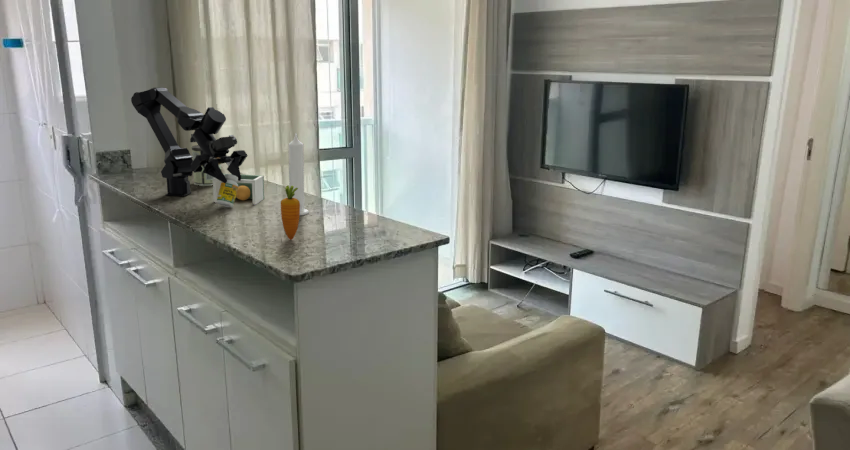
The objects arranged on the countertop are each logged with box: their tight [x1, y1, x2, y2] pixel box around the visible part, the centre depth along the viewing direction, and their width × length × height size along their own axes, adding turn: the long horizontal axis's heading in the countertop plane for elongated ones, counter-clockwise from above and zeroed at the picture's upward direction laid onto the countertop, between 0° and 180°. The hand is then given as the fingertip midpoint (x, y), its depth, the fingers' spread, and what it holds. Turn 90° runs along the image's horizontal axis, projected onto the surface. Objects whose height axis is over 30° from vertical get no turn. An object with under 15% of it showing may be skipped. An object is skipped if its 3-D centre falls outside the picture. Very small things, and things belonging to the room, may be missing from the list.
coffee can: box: [191, 144, 222, 187], centre depth 234 cm, size 10×10×14 cm
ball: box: [236, 185, 251, 201], centre depth 210 cm, size 5×5×5 cm
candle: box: [288, 132, 309, 216], centre depth 192 cm, size 7×7×25 cm
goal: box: [212, 173, 265, 205], centre depth 209 cm, size 14×9×8 cm, turn 87°
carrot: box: [280, 184, 301, 241], centre depth 164 cm, size 5×5×15 cm
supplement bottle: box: [216, 173, 238, 208], centre depth 199 cm, size 5×5×10 cm
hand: (233, 181), depth 198 cm, fingers closed on supplement bottle, 5 cm apart
